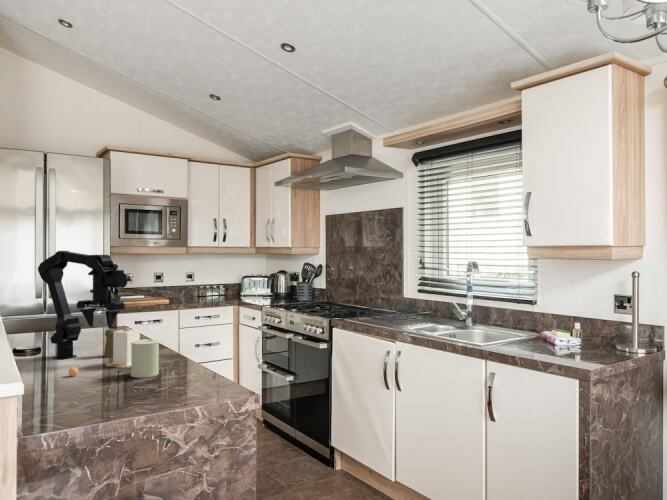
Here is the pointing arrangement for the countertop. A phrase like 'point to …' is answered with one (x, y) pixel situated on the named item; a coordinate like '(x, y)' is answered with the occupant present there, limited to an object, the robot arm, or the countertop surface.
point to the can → (144, 358)
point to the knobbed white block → (123, 345)
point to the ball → (73, 371)
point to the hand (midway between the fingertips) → (100, 327)
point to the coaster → (118, 365)
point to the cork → (109, 343)
